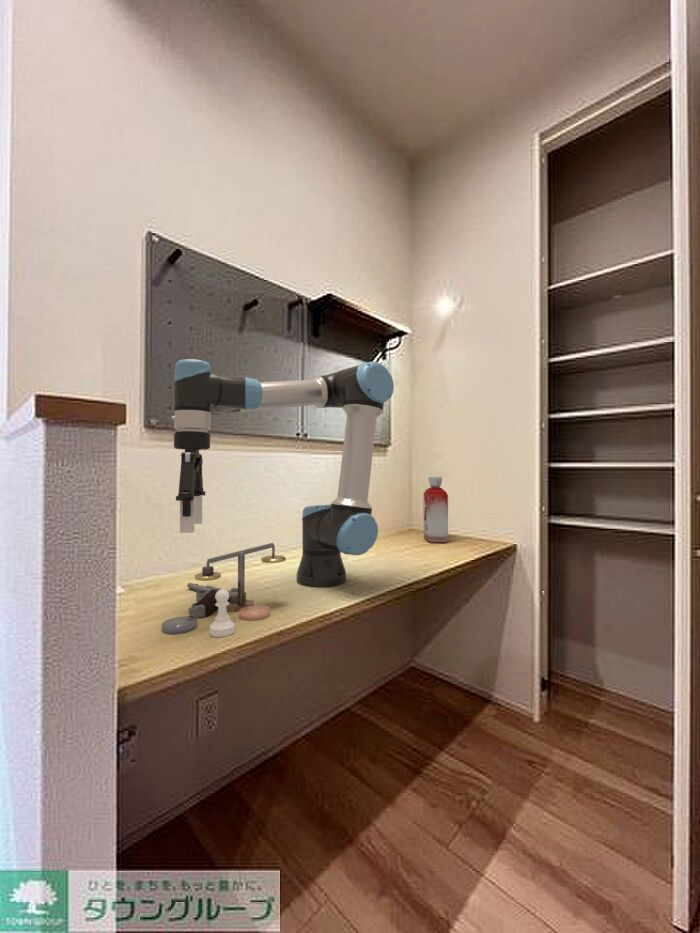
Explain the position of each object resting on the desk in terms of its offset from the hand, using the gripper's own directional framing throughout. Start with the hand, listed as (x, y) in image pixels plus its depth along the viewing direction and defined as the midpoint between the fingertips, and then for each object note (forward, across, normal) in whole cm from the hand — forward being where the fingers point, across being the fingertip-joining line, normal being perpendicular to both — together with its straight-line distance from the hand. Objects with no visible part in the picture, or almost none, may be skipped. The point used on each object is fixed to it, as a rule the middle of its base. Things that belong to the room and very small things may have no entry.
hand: (191, 527), depth 94 cm
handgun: (+22, -16, -1) cm, 27 cm away
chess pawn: (+21, +6, +7) cm, 23 cm away
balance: (+21, -9, +10) cm, 25 cm away
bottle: (+21, -87, +96) cm, 132 cm away
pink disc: (+21, -3, +14) cm, 25 cm away
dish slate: (+21, +2, -2) cm, 21 cm away
